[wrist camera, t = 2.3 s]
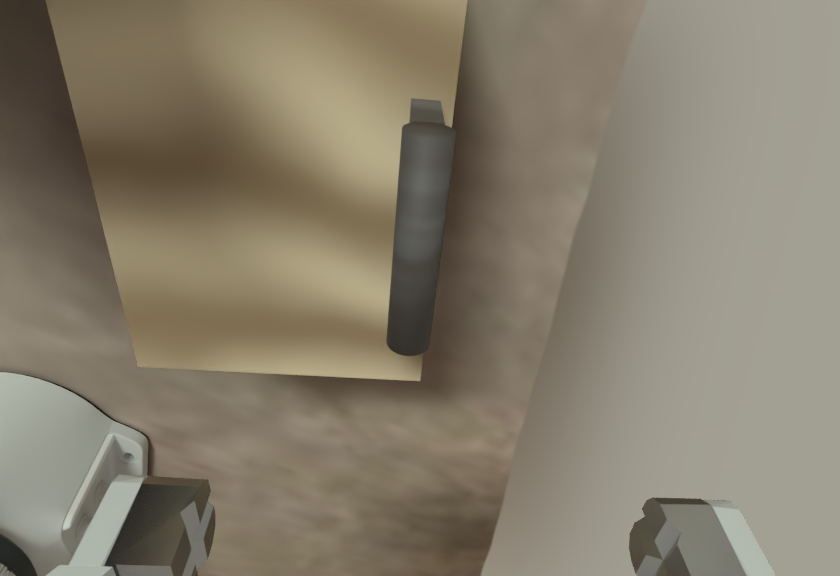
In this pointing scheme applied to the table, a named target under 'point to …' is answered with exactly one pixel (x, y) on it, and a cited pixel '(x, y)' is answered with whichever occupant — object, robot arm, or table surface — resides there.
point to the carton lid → (269, 175)
